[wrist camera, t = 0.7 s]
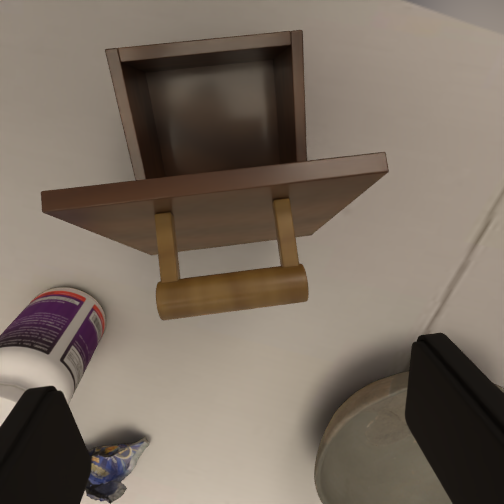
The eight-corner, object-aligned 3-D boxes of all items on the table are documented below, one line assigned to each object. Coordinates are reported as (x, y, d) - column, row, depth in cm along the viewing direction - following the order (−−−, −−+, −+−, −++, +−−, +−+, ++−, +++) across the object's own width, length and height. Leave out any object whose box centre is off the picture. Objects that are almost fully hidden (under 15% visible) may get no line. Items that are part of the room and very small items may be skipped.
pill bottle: (17, 314, 38) (-90, 427, 25) (63, 269, 36) (-26, 363, 23) (78, 355, 41) (12, 475, 28) (123, 315, 39) (75, 422, 26)
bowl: (458, 297, 42) (511, 339, 35) (506, 429, 53) (554, 483, 46) (266, 393, 46) (275, 451, 38) (347, 499, 57) (367, 560, 49)
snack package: (159, 476, 51) (147, 421, 46) (143, 527, 45) (127, 470, 40) (81, 471, 52) (61, 416, 47) (56, 519, 46) (30, 463, 41)
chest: (135, 64, 30) (104, 49, 22) (280, 49, 30) (302, 29, 22) (166, 214, 35) (151, 247, 27) (288, 200, 36) (309, 228, 27)
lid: (40, 190, 12) (49, 339, 12) (385, 150, 13) (410, 291, 12) (149, 245, 27) (156, 312, 26) (309, 225, 27) (319, 291, 27)
